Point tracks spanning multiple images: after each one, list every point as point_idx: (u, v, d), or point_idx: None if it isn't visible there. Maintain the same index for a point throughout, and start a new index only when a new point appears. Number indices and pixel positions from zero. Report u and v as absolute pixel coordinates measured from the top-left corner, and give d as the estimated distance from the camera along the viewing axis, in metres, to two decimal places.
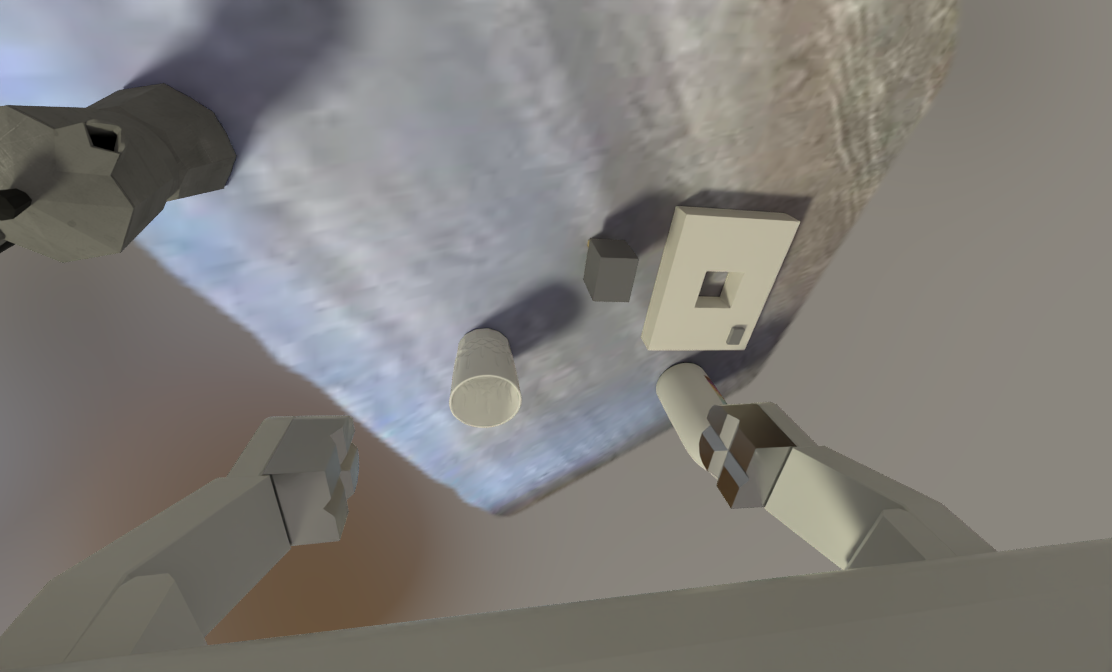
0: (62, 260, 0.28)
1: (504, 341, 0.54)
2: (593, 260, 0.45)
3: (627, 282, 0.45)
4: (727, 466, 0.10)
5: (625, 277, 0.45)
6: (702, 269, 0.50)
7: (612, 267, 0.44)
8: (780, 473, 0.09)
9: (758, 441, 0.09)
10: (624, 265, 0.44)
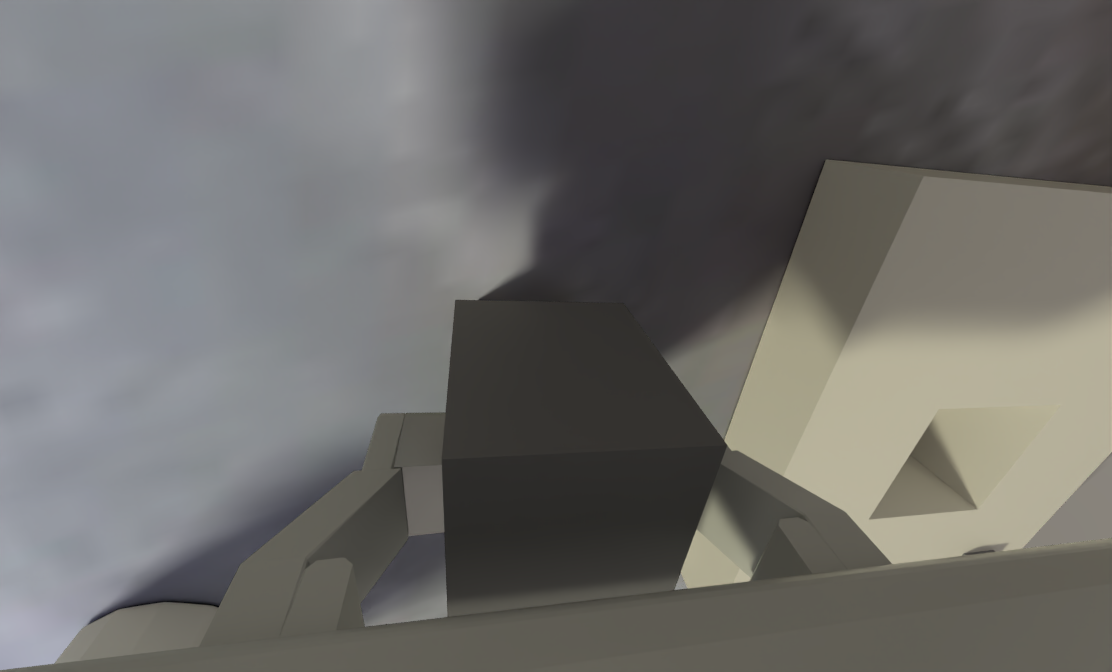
0: None
1: None
2: None
3: (648, 566, 0.07)
4: None
5: (634, 545, 0.07)
6: (926, 405, 0.13)
7: (543, 508, 0.06)
8: None
9: None
10: (626, 488, 0.06)
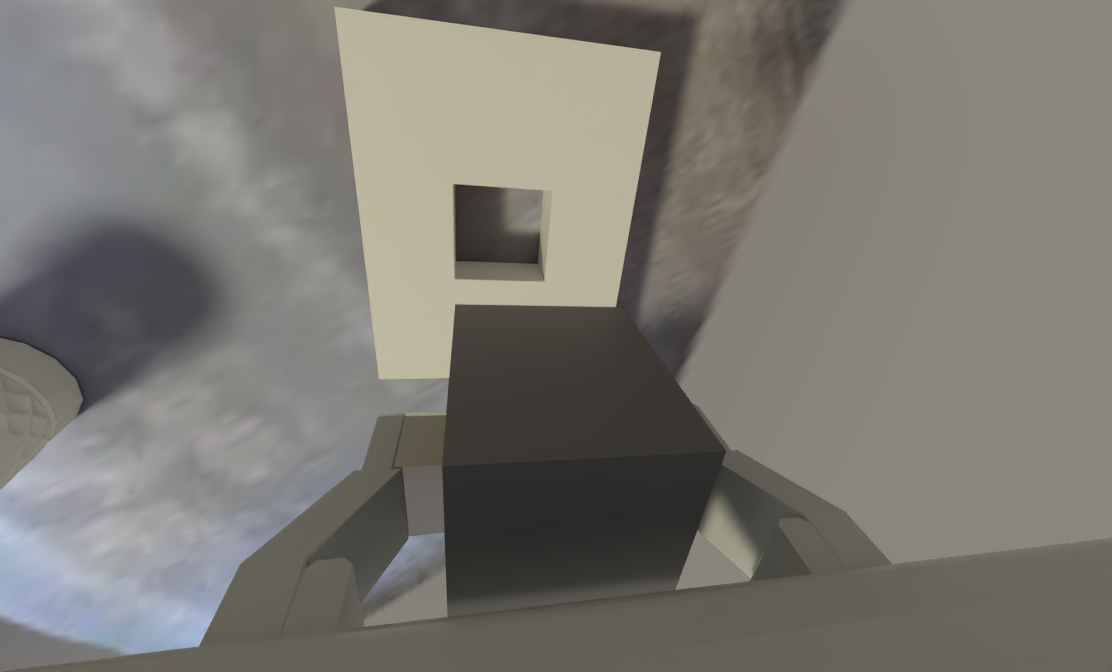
0: None
1: (22, 363, 0.23)
2: None
3: (647, 571, 0.07)
4: None
5: (635, 551, 0.07)
6: (440, 179, 0.21)
7: (543, 514, 0.06)
8: None
9: None
10: (626, 494, 0.06)
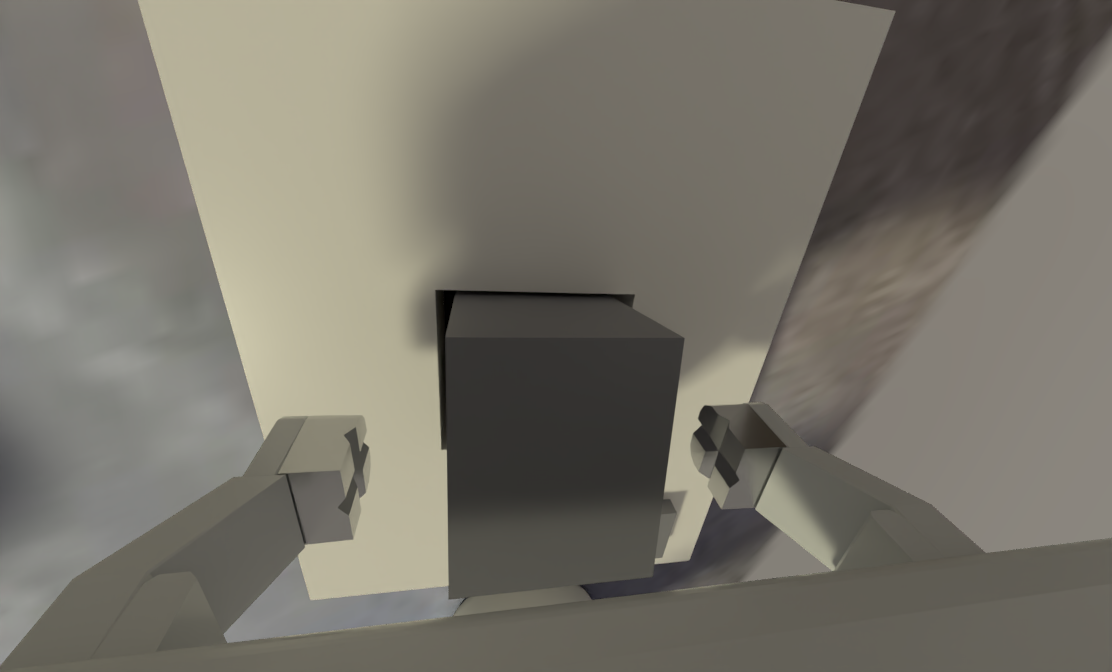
0: None
1: None
2: None
3: (632, 477, 0.08)
4: (718, 467, 0.10)
5: (618, 449, 0.08)
6: (408, 281, 0.10)
7: (531, 397, 0.07)
8: (770, 474, 0.09)
9: (748, 441, 0.09)
10: (604, 380, 0.07)
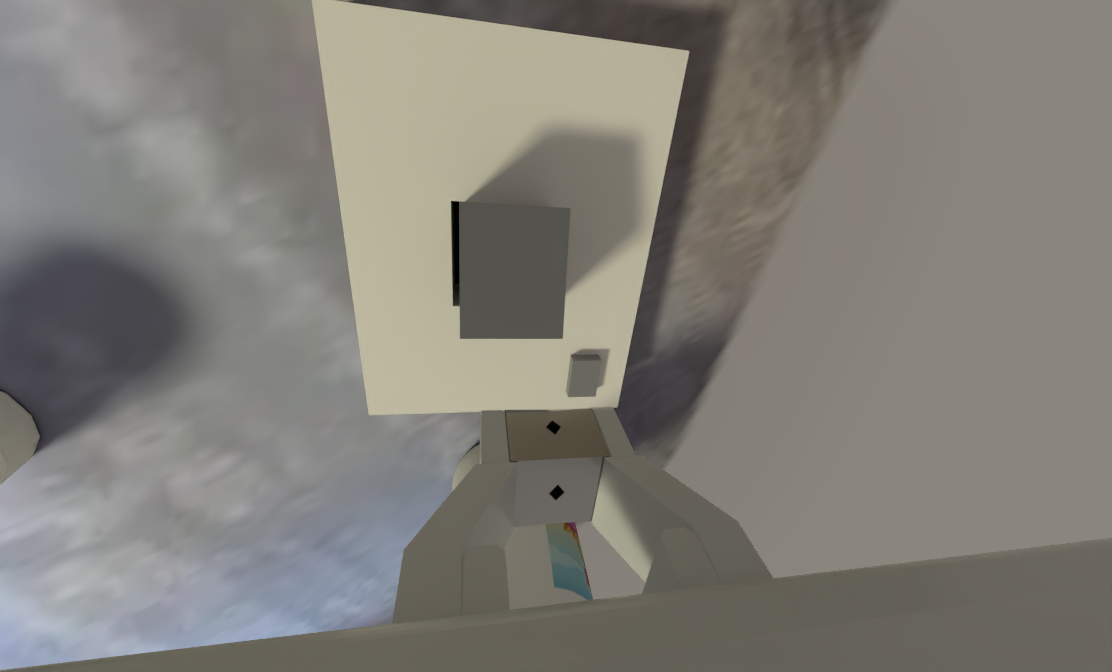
0: None
1: None
2: None
3: (549, 280, 0.16)
4: None
5: (540, 264, 0.16)
6: (436, 195, 0.18)
7: (498, 233, 0.16)
8: (599, 486, 0.08)
9: (569, 450, 0.08)
10: (532, 227, 0.16)
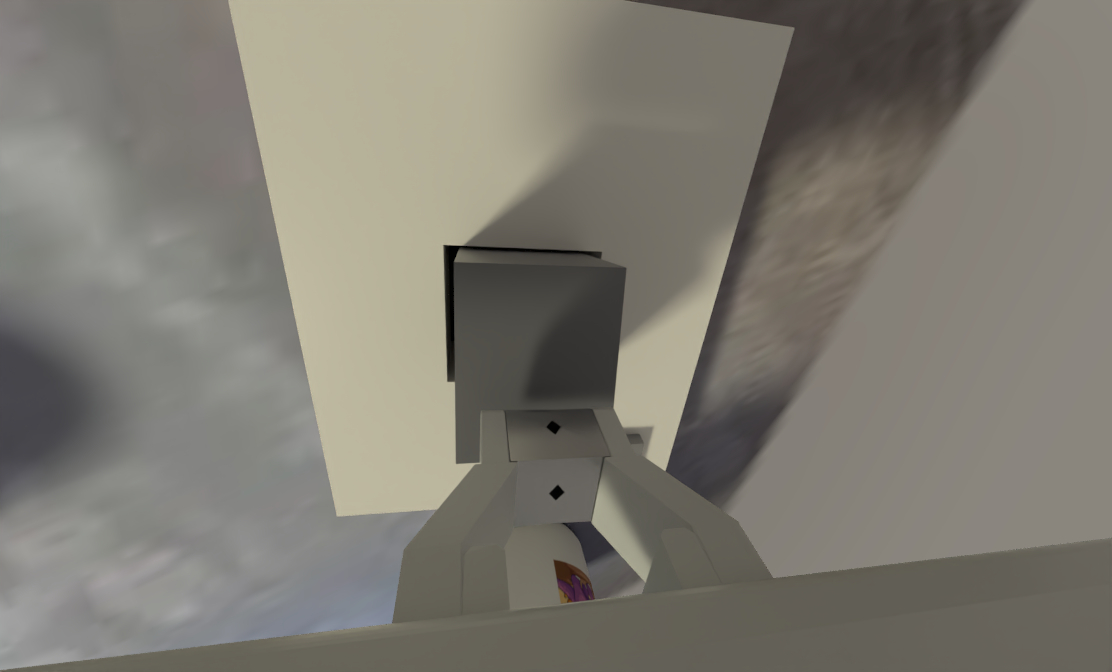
0: None
1: None
2: None
3: (591, 374, 0.11)
4: None
5: (579, 351, 0.11)
6: (422, 237, 0.13)
7: (515, 309, 0.10)
8: (598, 485, 0.08)
9: (569, 450, 0.08)
10: (567, 298, 0.10)
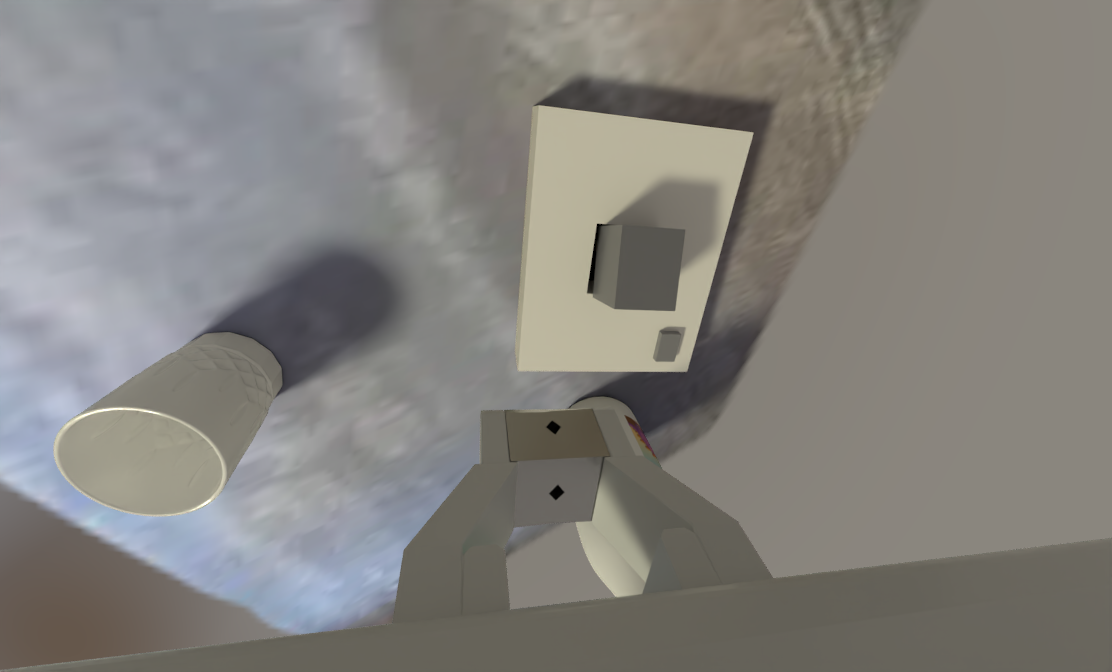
0: None
1: (256, 354, 0.31)
2: (608, 247, 0.28)
3: (669, 273, 0.26)
4: None
5: (665, 263, 0.26)
6: (588, 220, 0.29)
7: (642, 244, 0.26)
8: (598, 485, 0.08)
9: (569, 450, 0.08)
10: (662, 240, 0.26)
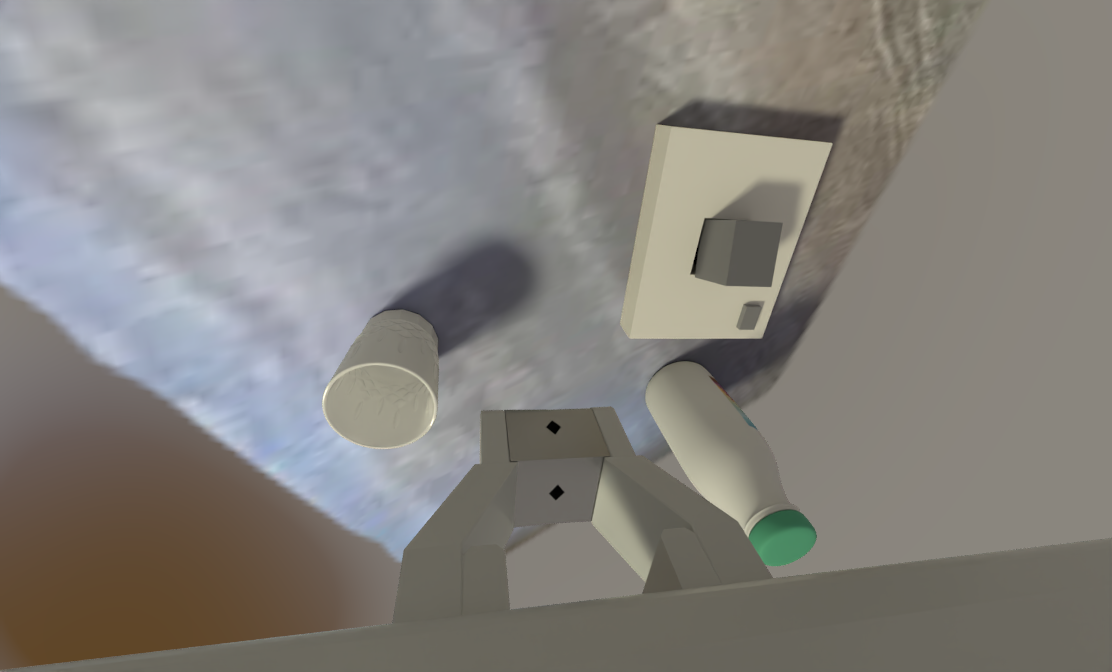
0: None
1: (425, 326, 0.38)
2: (716, 237, 0.35)
3: (769, 257, 0.34)
4: None
5: (766, 249, 0.34)
6: (698, 215, 0.36)
7: (750, 234, 0.33)
8: (598, 485, 0.08)
9: (569, 450, 0.08)
10: (765, 231, 0.33)
